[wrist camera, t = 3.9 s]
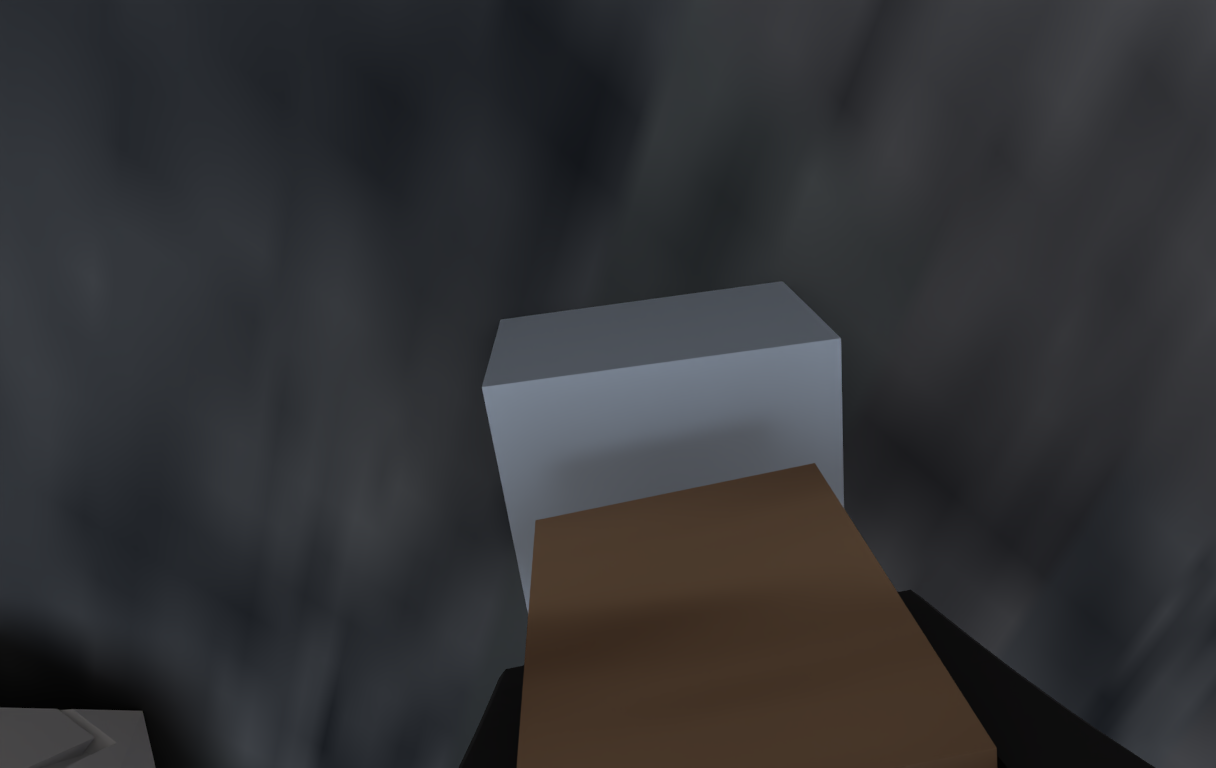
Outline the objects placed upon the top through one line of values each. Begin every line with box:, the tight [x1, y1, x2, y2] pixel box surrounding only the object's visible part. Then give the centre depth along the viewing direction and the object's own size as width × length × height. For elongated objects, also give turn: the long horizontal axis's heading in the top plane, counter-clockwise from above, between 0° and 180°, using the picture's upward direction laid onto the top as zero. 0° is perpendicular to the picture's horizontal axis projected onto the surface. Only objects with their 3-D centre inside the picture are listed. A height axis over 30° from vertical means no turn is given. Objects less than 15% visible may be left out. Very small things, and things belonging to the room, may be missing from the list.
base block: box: [482, 281, 844, 612], centre depth 16 cm, size 6×6×4 cm
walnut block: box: [517, 463, 997, 768], centre depth 9 cm, size 4×4×5 cm
